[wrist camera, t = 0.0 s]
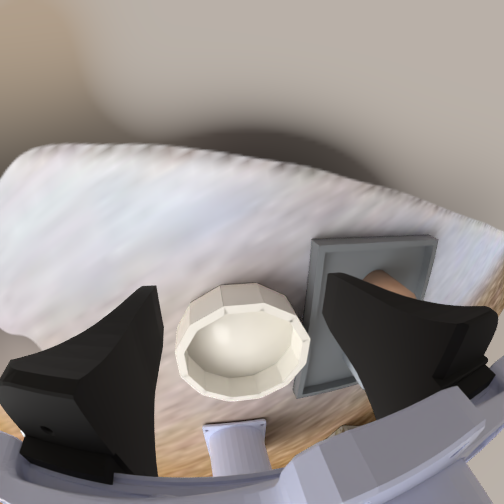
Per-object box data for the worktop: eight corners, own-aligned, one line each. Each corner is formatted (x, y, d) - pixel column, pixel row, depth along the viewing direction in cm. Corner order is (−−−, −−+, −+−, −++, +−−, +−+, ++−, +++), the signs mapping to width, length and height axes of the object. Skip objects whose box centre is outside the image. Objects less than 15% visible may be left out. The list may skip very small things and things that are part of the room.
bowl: (291, 370, 27) (300, 391, 24) (187, 380, 25) (187, 404, 22) (302, 278, 23) (316, 297, 20) (170, 288, 21) (166, 309, 18)
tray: (390, 364, 31) (396, 371, 29) (292, 389, 28) (296, 398, 27) (428, 234, 24) (438, 239, 23) (311, 239, 22) (318, 245, 20)
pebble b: (384, 301, 25) (409, 325, 21) (354, 307, 25) (378, 333, 21) (392, 268, 24) (421, 288, 20) (361, 271, 23) (389, 295, 19)
